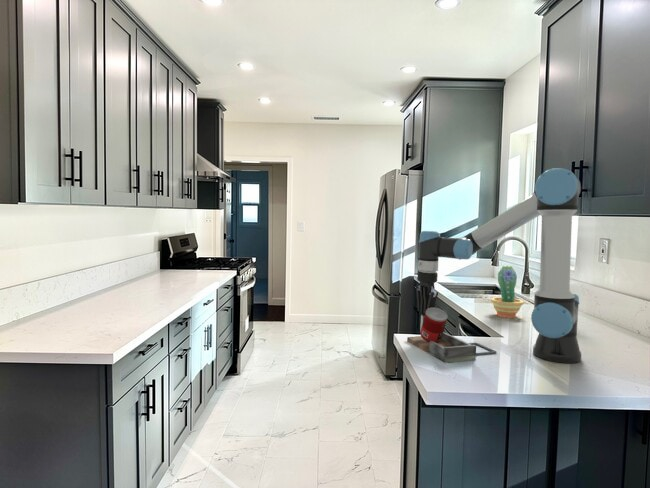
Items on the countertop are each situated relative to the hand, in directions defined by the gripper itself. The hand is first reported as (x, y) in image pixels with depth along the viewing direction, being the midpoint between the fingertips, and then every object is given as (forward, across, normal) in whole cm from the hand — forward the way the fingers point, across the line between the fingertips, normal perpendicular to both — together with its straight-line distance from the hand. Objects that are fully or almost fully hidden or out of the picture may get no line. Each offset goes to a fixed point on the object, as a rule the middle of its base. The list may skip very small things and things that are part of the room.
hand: (424, 331), depth 168 cm
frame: (+4, +13, +13) cm, 19 cm away
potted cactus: (+5, -31, +65) cm, 72 cm away
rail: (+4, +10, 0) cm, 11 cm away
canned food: (+1, +4, 0) cm, 4 cm away
